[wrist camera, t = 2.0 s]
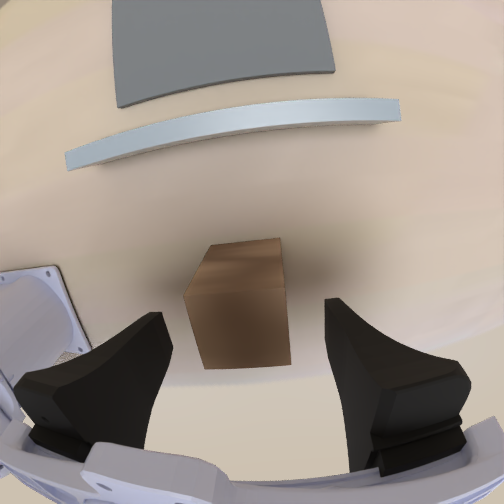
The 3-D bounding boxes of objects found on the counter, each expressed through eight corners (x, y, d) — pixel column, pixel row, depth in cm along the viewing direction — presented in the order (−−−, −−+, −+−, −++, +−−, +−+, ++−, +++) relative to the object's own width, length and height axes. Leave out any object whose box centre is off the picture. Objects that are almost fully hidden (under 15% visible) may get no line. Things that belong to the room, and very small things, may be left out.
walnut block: (222, 304, 18) (204, 369, 13) (210, 245, 17) (183, 295, 11) (285, 299, 18) (291, 365, 12) (280, 237, 17) (284, 287, 11)
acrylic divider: (101, 163, 15) (67, 171, 12) (98, 148, 15) (64, 152, 12) (375, 124, 14) (401, 120, 11) (372, 107, 13) (398, 99, 10)
